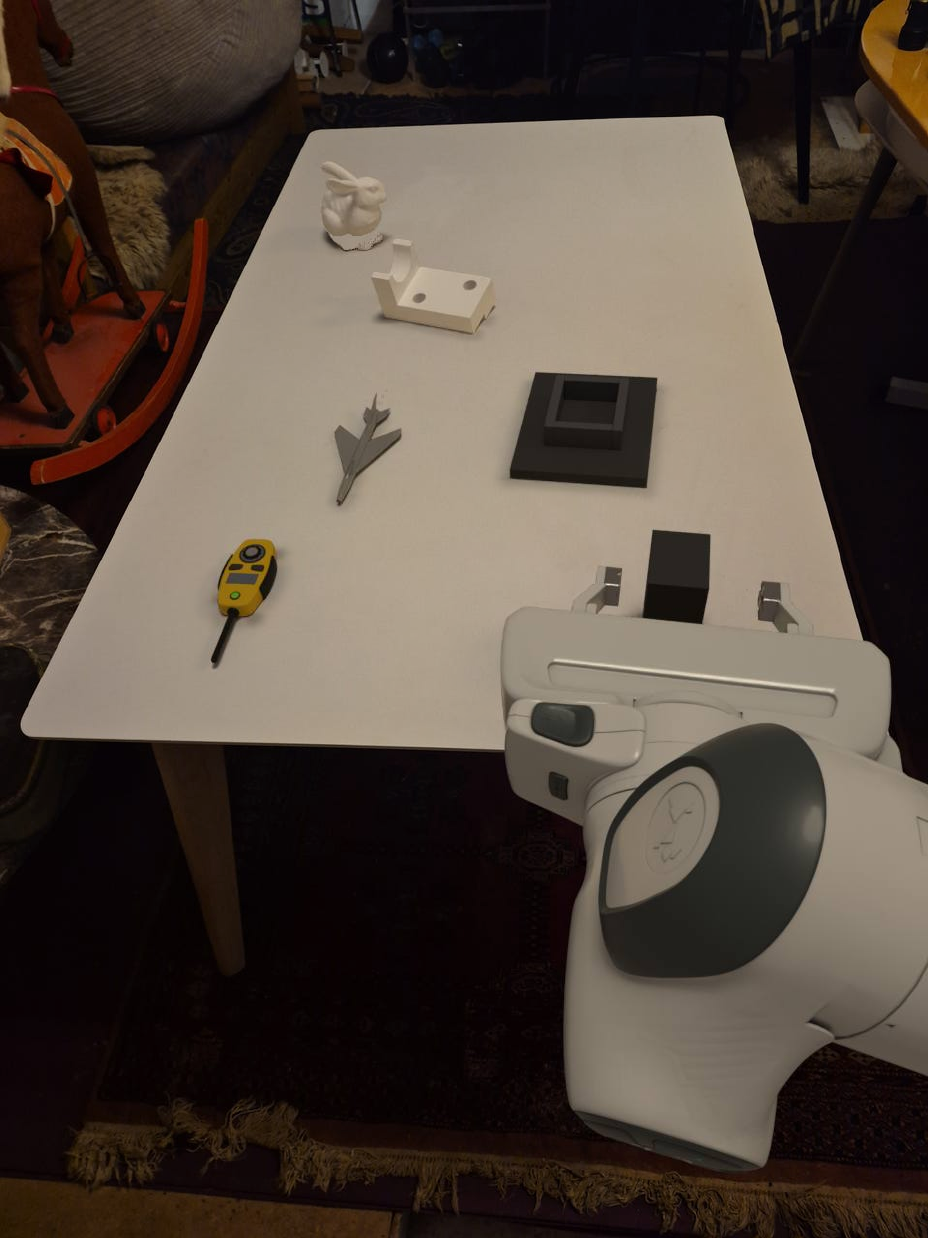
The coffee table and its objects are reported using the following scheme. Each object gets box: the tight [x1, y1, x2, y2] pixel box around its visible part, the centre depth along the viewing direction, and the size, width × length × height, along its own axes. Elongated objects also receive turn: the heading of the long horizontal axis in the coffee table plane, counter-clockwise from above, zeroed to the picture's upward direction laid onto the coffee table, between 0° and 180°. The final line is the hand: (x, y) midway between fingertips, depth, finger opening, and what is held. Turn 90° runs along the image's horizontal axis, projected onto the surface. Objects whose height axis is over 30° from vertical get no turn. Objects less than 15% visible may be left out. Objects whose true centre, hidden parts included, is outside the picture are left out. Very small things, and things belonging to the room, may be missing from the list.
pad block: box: [641, 529, 712, 624], centre depth 70 cm, size 4×6×10 cm
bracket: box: [370, 238, 497, 334], centre depth 110 cm, size 13×7×8 cm, turn 64°
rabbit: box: [320, 160, 388, 252], centre depth 124 cm, size 12×9×12 cm
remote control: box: [210, 538, 278, 664], centre depth 79 cm, size 5×2×15 cm
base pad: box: [509, 371, 658, 488], centre depth 92 cm, size 14×18×4 cm
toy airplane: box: [334, 389, 402, 504], centre depth 94 cm, size 8×21×2 cm, turn 169°
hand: (689, 581), depth 51 cm, fingers open, 8 cm apart
